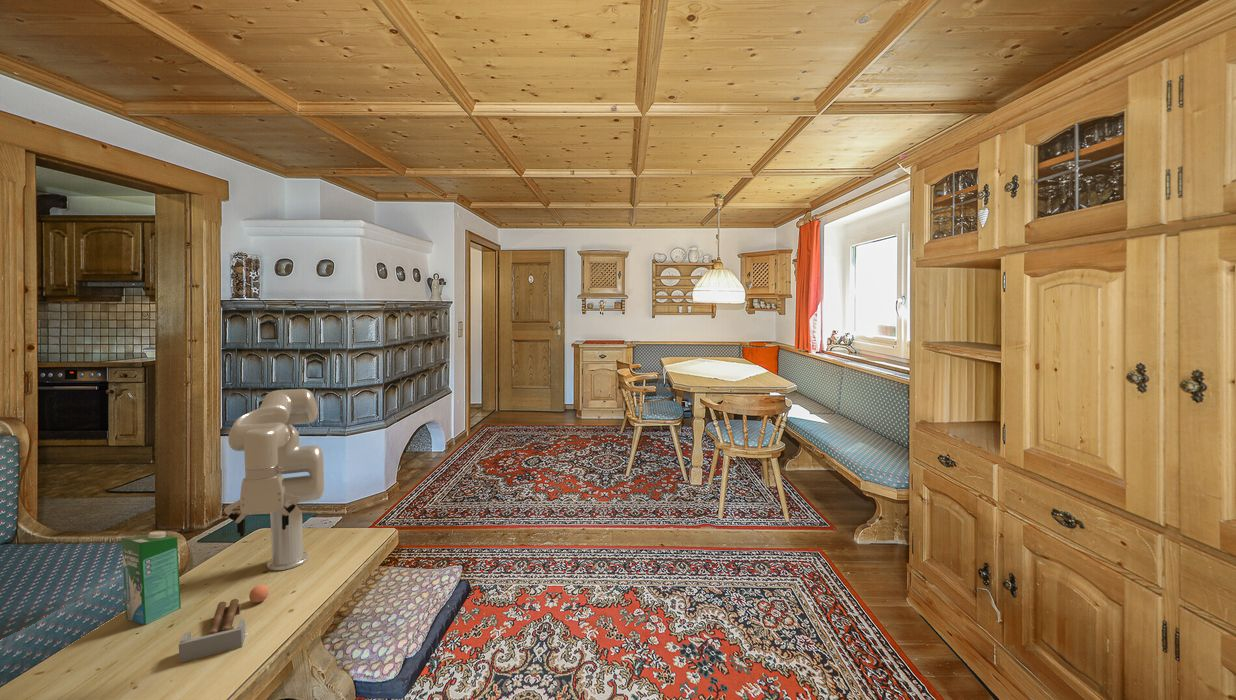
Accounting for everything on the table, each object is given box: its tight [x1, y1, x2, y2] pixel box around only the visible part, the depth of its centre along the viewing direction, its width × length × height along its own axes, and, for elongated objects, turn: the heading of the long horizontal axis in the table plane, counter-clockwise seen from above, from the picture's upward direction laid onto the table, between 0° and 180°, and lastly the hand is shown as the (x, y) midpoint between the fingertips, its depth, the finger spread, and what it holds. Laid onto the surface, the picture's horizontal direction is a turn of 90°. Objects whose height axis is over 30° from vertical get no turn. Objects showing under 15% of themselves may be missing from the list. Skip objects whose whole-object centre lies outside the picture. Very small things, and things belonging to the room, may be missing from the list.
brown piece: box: [207, 598, 241, 635], centre depth 140 cm, size 12×6×4 cm, turn 29°
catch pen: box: [178, 618, 247, 663], centre depth 130 cm, size 5×13×5 cm, turn 119°
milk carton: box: [121, 530, 182, 626], centre depth 144 cm, size 9×9×25 cm
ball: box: [248, 584, 270, 604], centre depth 152 cm, size 5×5×5 cm
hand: (264, 531), depth 136 cm, fingers open, 9 cm apart
